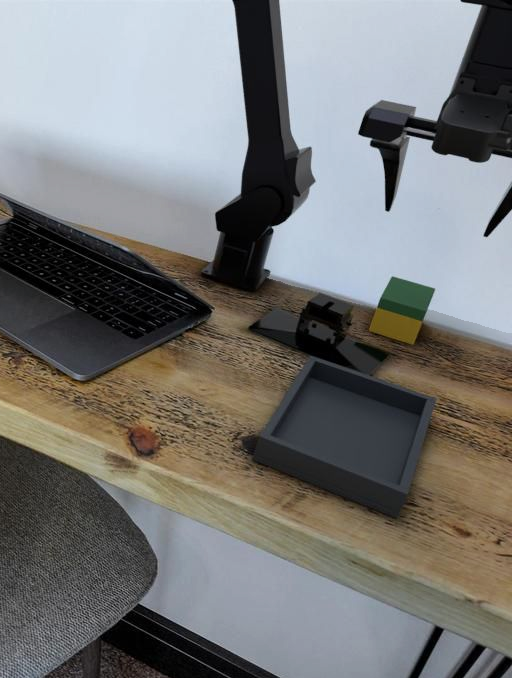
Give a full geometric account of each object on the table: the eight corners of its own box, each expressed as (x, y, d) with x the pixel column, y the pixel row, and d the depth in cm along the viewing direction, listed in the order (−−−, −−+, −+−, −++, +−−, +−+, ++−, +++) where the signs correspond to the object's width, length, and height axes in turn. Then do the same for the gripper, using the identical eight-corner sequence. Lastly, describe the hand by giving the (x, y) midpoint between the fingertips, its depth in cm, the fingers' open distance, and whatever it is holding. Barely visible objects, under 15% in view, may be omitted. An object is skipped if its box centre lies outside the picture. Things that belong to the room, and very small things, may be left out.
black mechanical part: (246, 331, 84) (257, 290, 82) (276, 310, 89) (287, 271, 87) (366, 380, 78) (381, 337, 75) (391, 354, 83) (406, 313, 80)
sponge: (380, 308, 92) (392, 275, 90) (422, 320, 90) (435, 288, 88) (368, 331, 87) (380, 297, 85) (413, 345, 85) (426, 311, 83)
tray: (302, 376, 77) (310, 355, 76) (427, 420, 72) (436, 398, 71) (251, 460, 65) (259, 435, 64) (396, 519, 60) (408, 494, 59)
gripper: (373, 53, 72) (322, 218, 80) (618, 98, 64) (535, 276, 72) (395, 40, 81) (347, 191, 89) (614, 78, 73) (540, 240, 81)
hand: (435, 223), depth 82 cm, fingers open, 9 cm apart
